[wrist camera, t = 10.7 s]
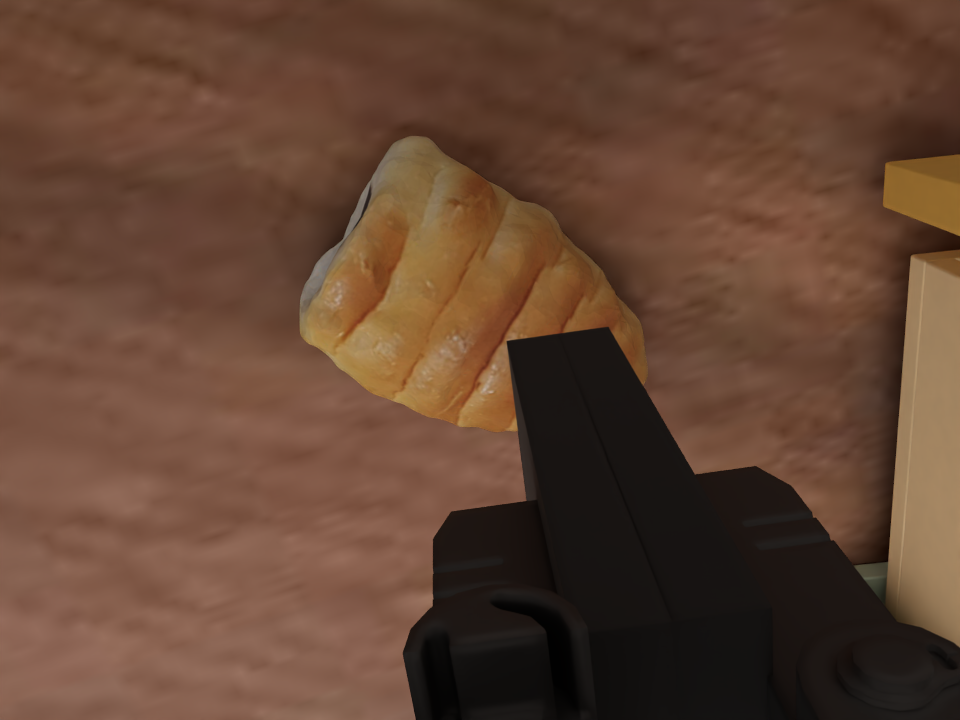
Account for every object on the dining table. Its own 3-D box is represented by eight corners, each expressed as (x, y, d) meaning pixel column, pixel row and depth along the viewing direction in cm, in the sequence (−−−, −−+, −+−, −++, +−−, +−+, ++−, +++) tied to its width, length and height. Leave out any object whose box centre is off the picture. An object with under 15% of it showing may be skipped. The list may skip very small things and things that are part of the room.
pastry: (685, 283, 25) (723, 325, 21) (560, 466, 27) (576, 533, 23) (394, 113, 23) (383, 128, 19) (284, 324, 25) (255, 372, 21)
